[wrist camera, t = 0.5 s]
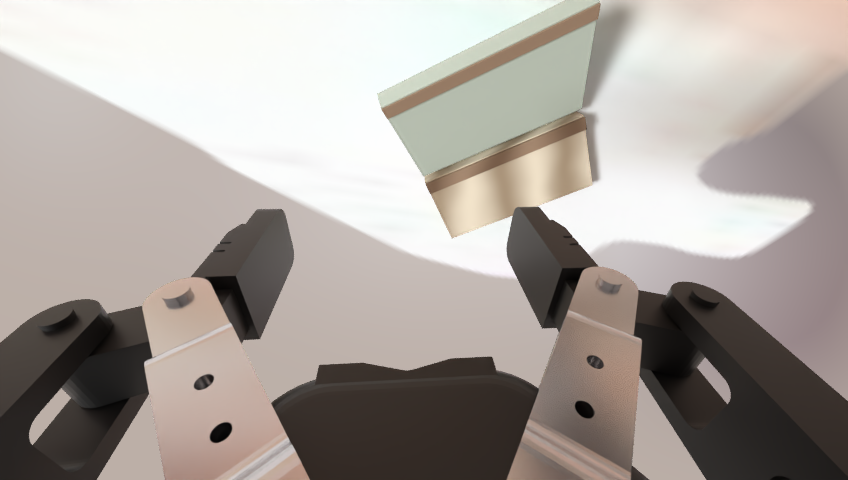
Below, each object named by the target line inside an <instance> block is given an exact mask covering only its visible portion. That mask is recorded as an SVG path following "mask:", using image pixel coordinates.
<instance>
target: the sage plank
mask: <svg viewBox="0 0 848 480" xmlns="http://www.w3.org/2000/svg"><path fill="white" fill-rule="evenodd" d="M599 2H600V1H599V0H565V1H563V2H561V3H559V4H557V5H555V6H553V7H551V8H549V9H547V10H545V11H543V12H541V13H539V14H537V15H535V16H533V17H531V18H529V19H527V20H525V21H523V22H521V23H519V24H517V25H515V26H513V27H511V28H509V29H507V30H505V31H503V32H501V33H499V34H497V35H495V36H493V37H491V38H489V39H487V40H485V41H483V42H481V43H479V44H477V45H475V46H473V47H471V48H468V49H466V50H464V51H462V52H460V53H458V54H456V55H454V56H452V57H450V58H448V59H446V60H444V61H442V62H440V63H438V64H436V65H434V66H432V67H430V68H428V69H426V70H424V71H422V72H420V73H418V74H416V75H414V76H412V77H410V78H408V79H406V80H404V81H402V82H400V83H398V84H396V85H394V86H392V87H390V88H388V89H386V90H384V91H382V92H380V93H378V94H377V95H378V99H379V102H380V106H381V109H382V111H383V113H384V114H385V116H386V117H387V119H388V120H389V122H390V123H391V125H392V126H393V128H394V130H395V131H396V133H397V134H398V136H399V138H400V139H401V141H402V143H403V144H404V146H405V147H406V149H407V151H408V152H409V154H410V155H411V157H412V159H413V160H414V162H415V164H416V165H417V167H418V168H419V170H420V172H421V173H422V175H423V176H426V175H428V174H430V173H433V172H435V171H437V170H440V169H442V168H444V167H447V166H449V165H451V164H454V163H456V162H458V161H461V160H463V159H465V158H468V157H470V156H472V155H475V154H477V153H479V152H482V151H484V150H486V149H489V148H491V147H493V146H496V145H498V144H500V143H503V142H505V141H507V140H510V139H512V138H514V137H517V136H519V135H521V134H524V133H526V132H528V131H531V130H533V129H535V128H538V127H540V126H542V125H545V124H547V123H549V122H552V121H554V120H556V119H559V118H561V117H563V116H566V115H568V114H570V113H573V112H575V111H577V110H580V109H582V103H583V97H584V91H585V85H586V79H587V73H588V67H589V62H590V56H591V50H592V44H593V38H594V32H595V26H596V20H597V19H598V16H599V10H600V3H599Z"/></svg>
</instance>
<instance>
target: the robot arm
mask: <svg viewBox="0 0 848 480" xmlns="http://www.w3.org/2000/svg"><path fill="white" fill-rule="evenodd" d="M507 257H508V260H509V262H510V264H511V266H512V268H513V270H514V272H515V274H516V276H517V279H518V281H519V283H520V285H521V287H522V288H523V291H524V293H525V294H526V297H527V299H528V301H529V303H530V305H531V307H532V309H533V311H534V313H535V315H536V317H537V319H538V321H539V323H540V325H541V327H542V328H557V329H558V331H559V334H558V337H557V339H556V342H555V345H554V347H553V350H552V353H551V356H550V358H549V361H548V364H547V367H546V369H545V372H544V374H543V377H542V380H541V383H540V385H539V388H537V387H535V386H534V385H532V384H531V383H529V382H527V381H525V380H523V379H521V378H519V377H516V376H514V375H512V374H508V373H505V372H502V371H497V370H496V368H495V365H494V362H493V358H492V357H475V358H454V359H448V360H445V361H442V362H438V363H434V364H431V365H427V366H424V367H421V368H417V369H414V370H409V371H405V370H399V369H393V368H387V367H382V366H377V365H372V364H366V363H350V364H330V365H319V368H318V373H317V377H316V380H313V381H310V382H307V383H305V384H302V385H300V386H298V387H296V388H294V389H292V390H290V391H288V392H286V393H285V394H283V395H282V396H280V397H278V398H277V399H276V400H274V401H273V402H272V403H271V402H270V400H269V398H268V396H267V394H266V392H265V390H264V388H263V386H262V384H261V382H260V380H259V378H258V376H257V374H256V372H255V371H254V368H253V366H252V364H251V362H250V360H249V358H248V356H247V354H246V352H245V350H244V348H243V346H242V342H243V340H250V339H260V337H261V335H262V333H263V331H264V329H265V326H266V324H267V322H268V319H269V317H270V315H271V312H272V310H273V308H274V306H275V303H276V301H277V299H278V297H279V294H280V292H281V290H282V288H283V285H284V283H285V281H286V278H287V276H288V274H289V272H290V269H291V267H292V264H293V260H294V250H293V245H292V241H291V237H290V233H289V229H288V224H287V220H286V216H285V213H284V211H283V210H282V209H258V210H256V211H255V213H254V214H253V215H252V216H251V218H250V219H249V220H248V222H247V223H246V224H241V225H239V226H237V227H236V228H234V229H233V230H231V231H229V232H228V233H227V234H226V235H225V237H224V238H223V239H222V240H221V242H220V244H218V245H217V246H216V248H215V249H214V250H213V252H212V253H210V255H209V256H208V257H207V259H205V261H204V262H203V263H202V264H201V265H200V267H199V268H198V269H197V270H196V271H195V273H194V274H193V275H192V276H191V277H190V278H184V279H179V280H176V281H173V282H170V283H168V284H166V285H164V286H162V287H160V288H158V289H157V290H155V291H154V292H152V293H151V294H150V295H149V296H148V297H147V298H146V299H145V301H144V303H143V306H140V307H135V308H131V309H126V310H123V311H118V312H113V313H109V314H107V313H106V311H105V310H104V309H103V307H102V306H101V305H100V303H99V302H97V301H95V300H90V299H82V300H75V301H70V302H66V303H63V304H60V305H57V306H54V307H52V308H49V309H47V310H45V311H43V312H41V313H39V314H37V315H35V316H34V317H32V318H30V319H29V320H27V321H26V322H25V323H23V324H22V325H21V326H20V327H19V328H17V329H16V330H15V331H14V332H13V333H11V334H10V335H9V336H8V337H7V338H6V339H4V340H3V341H2V342H1V343H0V480H97V478H98V476H99V475H100V473H101V472H102V470H103V468H104V467H105V465H106V463H107V462H108V460H109V459H110V457H111V455H112V454H113V452H114V450H115V449H116V447H117V445H118V444H119V442H120V441H121V439H122V437H123V436H124V434H125V432H126V431H127V429H128V428H129V426H130V424H131V423H132V421H133V419H134V418H135V416H136V414H137V413H138V411H139V409H140V408H141V406H142V405H143V403H144V401H145V400H146V398H147V396H148V395H150V400H151V405H152V412H153V417H154V422H155V428H156V433H157V439H158V444H159V450H160V455H161V461H162V466H163V472H164V477H165V480H649V479H648V478H646V477H645V476H644V475H643V474H642V473H640V472H639V471H638V470H637V469H636V468H634V467H633V466H632V457H633V445H634V431H635V421H636V409H637V396H638V385H639V376H640V377H641V379H642V380H643V382H644V383H645V385H646V386H647V388H648V389H649V391H650V393H651V394H652V396H653V397H654V399H655V400H656V402H657V404H658V405H659V407H660V408H661V410H662V411H663V413H664V414H665V416H666V418H667V419H668V421H669V422H670V424H671V425H672V427H673V428H674V430H675V432H676V433H677V435H678V436H679V438H680V439H681V441H682V442H683V444H684V446H685V447H686V449H687V450H688V452H689V453H690V455H691V456H692V458H693V460H694V461H695V463H696V464H697V466H698V467H699V469H700V470H701V472H702V474H703V475H704V477H705V478H706V480H848V401H847V400H846V399H845V398H843V397H842V396H841V395H840V394H839V393H838V392H836V391H835V390H834V389H833V388H832V387H831V386H829V385H828V384H827V383H826V382H825V381H823V380H822V379H821V378H820V377H819V376H818V375H817V374H815V373H814V372H813V371H812V370H811V369H810V368H808V367H807V366H806V365H805V364H804V363H803V362H802V361H800V360H799V359H798V358H797V357H796V356H795V355H793V354H792V353H791V352H790V351H789V350H788V349H786V348H785V347H784V346H783V345H782V344H781V343H779V342H778V341H777V340H776V339H775V338H773V337H772V336H771V335H770V334H769V333H768V332H766V330H764V329H763V328H762V327H761V326H760V325H759V324H757V323H756V322H755V321H754V320H753V319H752V318H750V317H749V316H748V315H747V314H746V313H745V312H743V311H742V310H741V309H740V308H739V307H737V306H736V305H735V304H734V303H733V302H732V301H731V300H729V299H728V298H727V297H726V296H724V295H722V294H721V293H719V292H717V291H716V290H713V289H711V288H709V287H706V286H704V285H700V284H697V283H692V282H678V283H675V284H673V285H672V287H671V289H670V290H669V292H668V293H667V295H662V294H656V293H651V292H646V291H640V290H638V288H637V286H636V284H635V283H634V282H633V281H632V280H631V279H630V278H628V277H627V276H626V275H624V274H622V273H620V272H618V271H615V270H613V269H609V268H605V267H599V266H598V265H597V264H596V263H595V262H594V261H593V259H592V258H591V257H590V256H589V255H588V254H587V252H586V251H585V250H584V249H583V248H582V247H581V245H579V243H578V242H577V241H576V240H575V239H574V238H572V235H571V234H570V233H569V232H568V230H567V229H566V228H565V227H563V226H562V225H560V224H558V223H557V222H555V221H554V220H549V219H548V217H547V216H546V215H545V214H544V213H543V211H542V210H541V209H540V208H539V207H516V208H515V210H514V213H513V217H512V222H511V227H510V232H509V237H508V242H507ZM705 357H706V358H707V359H708V361H709V362H710V363H711V364H712V365H713V366H714V367H715V368H716V369H717V370H718V372H719V373H720V374H721V375H722V376H723V378H724V379H725V380H726V381H727V383H728V385H729V388H730V392H731V399H730V402H729V403H728V404H727V403H726V402H725V401H724V400H723V399H722V397H721V396H720V395H719V394H718V393H717V391H716V390H715V389H714V388H713V387H712V385H711V384H710V383H709V382H708V381H707V379H706V378H705V377H704V376H703V375H702V373H701V372H700V371H699V370H698V369H697V366H698V365H699V364H700V362H701V361H702V360H703V359H704V358H705ZM60 388H62V389H63V390H64V391H65V392H66V393H67V394H68V395H69V396H70V397H71V399H70V400H69V402H68V403H67V404H66V405H65V406H64V408H63V409H62V410H61V411H60V413H59V414H58V415H57V416H56V417H55V419H54V420H53V421H52V422H51V424H50V425H49V426H48V427H47V429H46V430H45V431H44V432H43V433H42V435H41V436H40V437H39V438H38V440H37V441H36V442H35V443H34V444H33V445H32V444H31V443H30V440H29V430H30V427H31V424H32V422H33V421H34V419H35V418H36V416H37V415H38V414H39V413H40V411H41V410H42V409H43V408H44V407H45V406H46V404H47V403H48V402H49V401H50V400H51V399H52V398H53V397H54V395H55V394H56V393H57V392H58V391H59V389H60Z"/></svg>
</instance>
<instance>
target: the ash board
mask: <svg viewBox="0 0 848 480" xmlns="http://www.w3.org/2000/svg"><path fill="white" fill-rule="evenodd" d="M586 130H587V128H586V120H585V117H584V115H582V114H580V113H578V112H577V111H576V112H574V113H571V114H569V115H567V116H564V117H562V118H560V119H557V120H555V121H553V122H550V123H548V124H546V125H543V126H541V127H539V128H536V129H534V130H532V131H529V132H527V133H525V134H522V135H520V136H518V137H515V138H513V139H511V140H508V141H506V142H504V143H501V144H499V145H497V146H494V147H492V148H489V149H487V150H485V151H482V152H480V153H478V154H475V155H473V156H471V157H468V158H466V159H464V160H461V161H459V162H457V163H454V164H452V165H450V166H447V167H445V168H443V169H440V170H438V171H436V172H433V173H431V174H429V175H426V176H424V177H425V183H426V186H427V188H428V190H429V192H430V194H431V196H432V198H433V200H434V202H435V204H436V206H437V208H438V210H439V212H440V214H441V217H442V219H443V221H444V223H445V225H446V227H447V229H448V231H449V233H450V235H451V237H452V238H454V237H457V236H460V235H462V234H465V233H468V232H470V231H473V230H476V229H478V228H481V227H483V226H486V225H489V224H491V223H494V222H497V221H499V220H502V219H504V218H507V217H510V216H512V215H513V213H514V210H515V208H516V207H536V206H539V205H541V204H544V203H547V202H549V201H552V200H555V199H557V198H560V197H562V196H565V195H568V194H570V193H573V192H576V191H578V190H581V189H583V188H586V187H589V186H591V185H592V177H591V169H590V162H589V154H588V146H587V138H586Z"/></svg>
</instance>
